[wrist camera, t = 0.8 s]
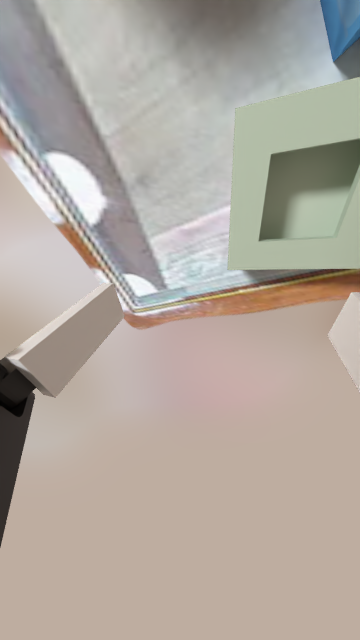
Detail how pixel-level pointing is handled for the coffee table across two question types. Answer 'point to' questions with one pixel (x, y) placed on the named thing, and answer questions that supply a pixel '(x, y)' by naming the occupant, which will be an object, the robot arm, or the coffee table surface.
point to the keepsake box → (297, 181)
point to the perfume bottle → (341, 24)
